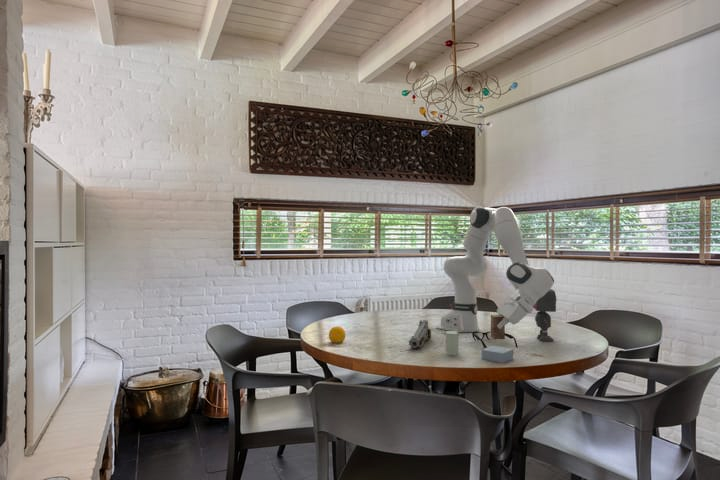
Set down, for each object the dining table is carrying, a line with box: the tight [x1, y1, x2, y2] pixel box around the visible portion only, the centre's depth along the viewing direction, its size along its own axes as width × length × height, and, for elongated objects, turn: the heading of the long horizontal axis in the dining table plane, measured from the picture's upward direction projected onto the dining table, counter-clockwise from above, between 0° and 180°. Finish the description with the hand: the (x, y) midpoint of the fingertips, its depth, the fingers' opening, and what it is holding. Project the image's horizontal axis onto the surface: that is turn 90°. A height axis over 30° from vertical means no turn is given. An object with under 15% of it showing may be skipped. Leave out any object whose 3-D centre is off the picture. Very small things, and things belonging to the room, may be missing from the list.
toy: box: [408, 319, 432, 350], centre depth 207 cm, size 6×24×10 cm, turn 160°
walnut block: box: [490, 314, 506, 340], centre depth 182 cm, size 4×4×9 cm
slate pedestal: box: [481, 345, 514, 364], centre depth 183 cm, size 9×9×4 cm
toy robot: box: [533, 288, 557, 343], centre depth 216 cm, size 22×9×30 cm, turn 168°
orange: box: [328, 326, 347, 344], centre depth 211 cm, size 8×8×8 cm
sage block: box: [445, 330, 459, 356], centre depth 190 cm, size 4×4×9 cm
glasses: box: [471, 331, 518, 349], centre depth 208 cm, size 17×18×5 cm
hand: (496, 325), depth 182 cm, fingers closed on walnut block, 4 cm apart
